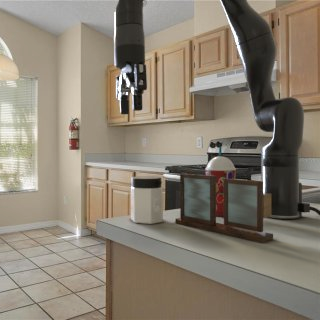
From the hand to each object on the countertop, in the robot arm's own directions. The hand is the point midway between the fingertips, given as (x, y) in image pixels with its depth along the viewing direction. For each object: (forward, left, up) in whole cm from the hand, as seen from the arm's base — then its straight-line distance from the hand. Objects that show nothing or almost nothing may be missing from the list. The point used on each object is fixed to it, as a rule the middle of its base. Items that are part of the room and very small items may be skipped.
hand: (130, 112), depth 83 cm
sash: (-23, +13, -28) cm, 38 cm away
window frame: (-19, +9, -29) cm, 36 cm away
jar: (-7, -6, -29) cm, 31 cm away
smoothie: (-31, -7, -29) cm, 43 cm away
